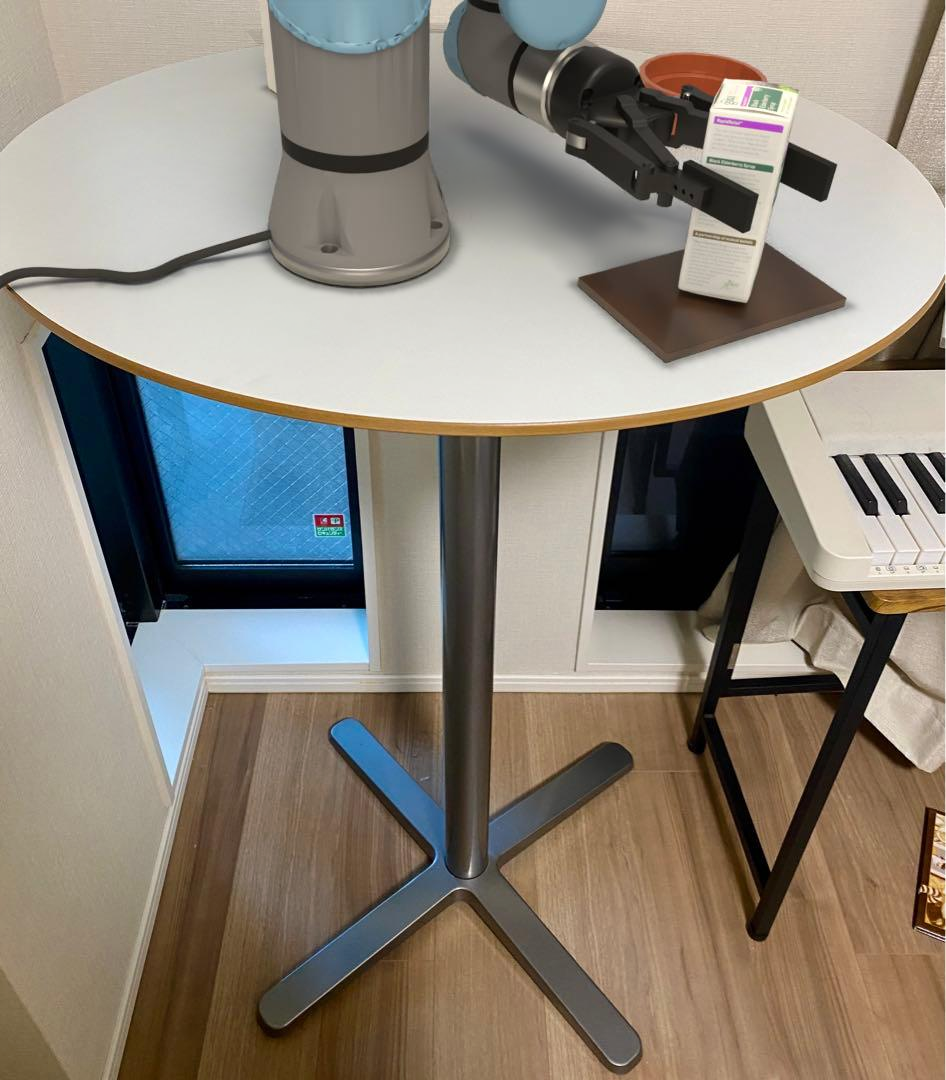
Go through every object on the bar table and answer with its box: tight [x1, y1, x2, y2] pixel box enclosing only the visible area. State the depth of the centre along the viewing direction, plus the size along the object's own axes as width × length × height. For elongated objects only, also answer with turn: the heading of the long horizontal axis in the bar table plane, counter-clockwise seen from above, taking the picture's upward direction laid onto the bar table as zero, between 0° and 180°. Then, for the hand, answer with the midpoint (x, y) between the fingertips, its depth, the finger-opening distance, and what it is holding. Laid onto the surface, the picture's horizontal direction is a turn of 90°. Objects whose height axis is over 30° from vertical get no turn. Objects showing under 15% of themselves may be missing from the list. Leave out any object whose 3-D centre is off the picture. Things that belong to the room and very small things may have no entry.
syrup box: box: [678, 78, 801, 303], centre depth 74 cm, size 6×6×14 cm
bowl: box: [638, 51, 768, 135], centre depth 104 cm, size 13×13×4 cm
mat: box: [577, 241, 847, 363], centre depth 80 cm, size 18×12×1 cm, turn 119°
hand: (790, 198), depth 71 cm, fingers closed on syrup box, 8 cm apart
